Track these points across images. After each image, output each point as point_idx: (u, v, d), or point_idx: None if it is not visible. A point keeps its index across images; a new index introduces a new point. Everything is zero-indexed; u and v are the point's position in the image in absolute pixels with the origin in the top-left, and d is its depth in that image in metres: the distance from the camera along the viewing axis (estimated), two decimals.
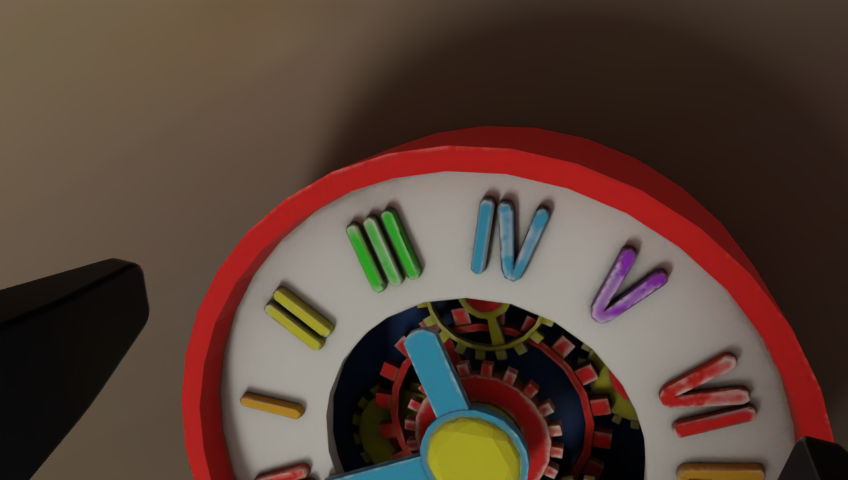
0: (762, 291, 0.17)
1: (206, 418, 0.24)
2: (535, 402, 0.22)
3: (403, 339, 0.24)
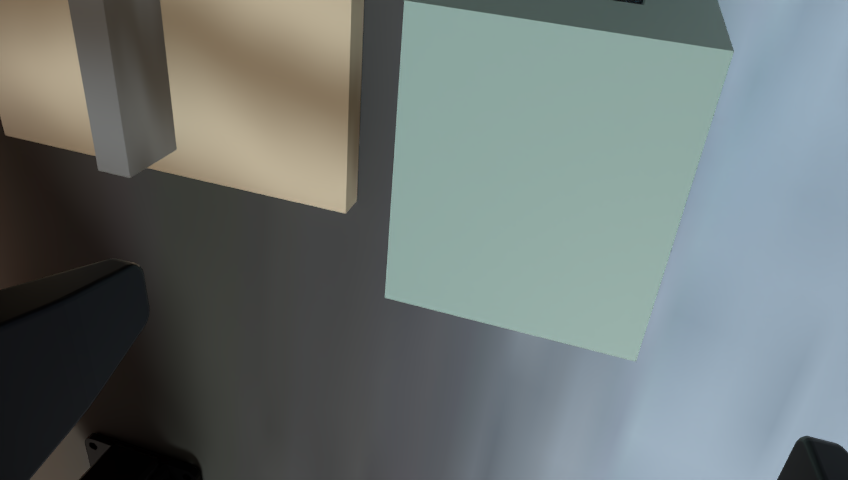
0: None
1: None
2: None
3: None
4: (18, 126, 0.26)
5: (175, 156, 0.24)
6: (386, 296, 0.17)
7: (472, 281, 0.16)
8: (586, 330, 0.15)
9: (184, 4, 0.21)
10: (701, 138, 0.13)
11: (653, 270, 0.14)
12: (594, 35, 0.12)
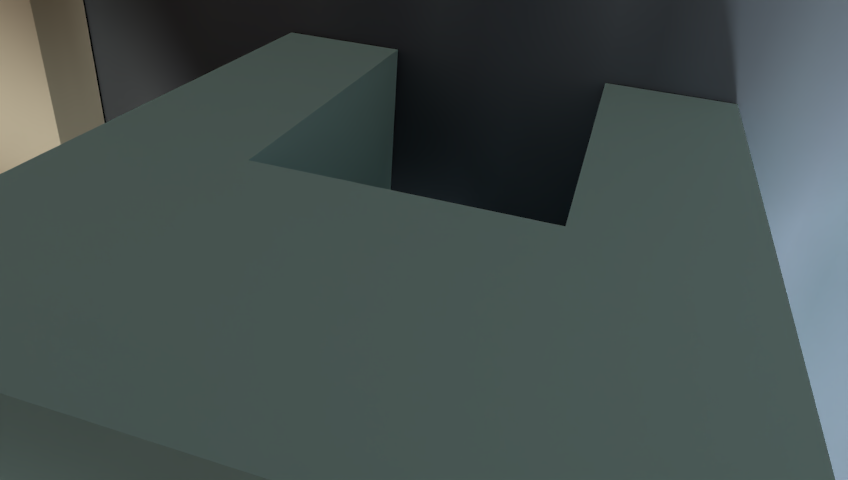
0: None
1: None
2: None
3: None
4: None
5: None
6: None
7: None
8: None
9: None
10: None
11: None
12: None
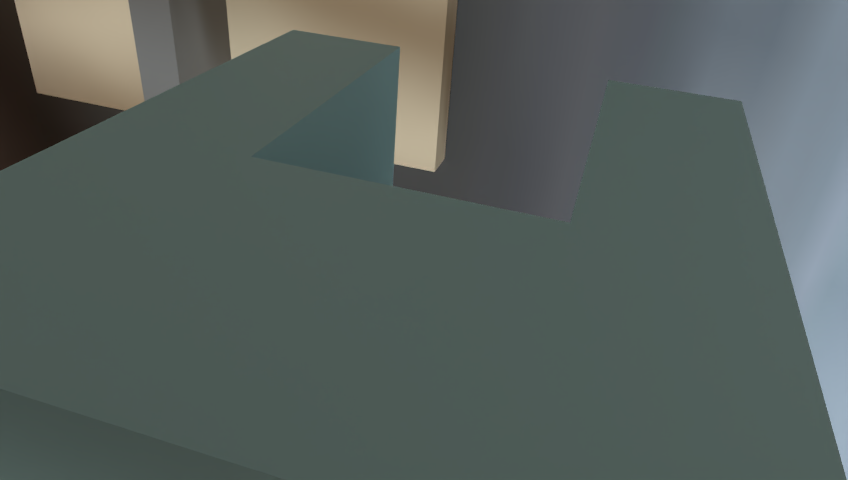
0: None
1: None
2: None
3: None
4: (52, 81, 0.23)
5: None
6: None
7: None
8: None
9: None
10: None
11: None
12: None
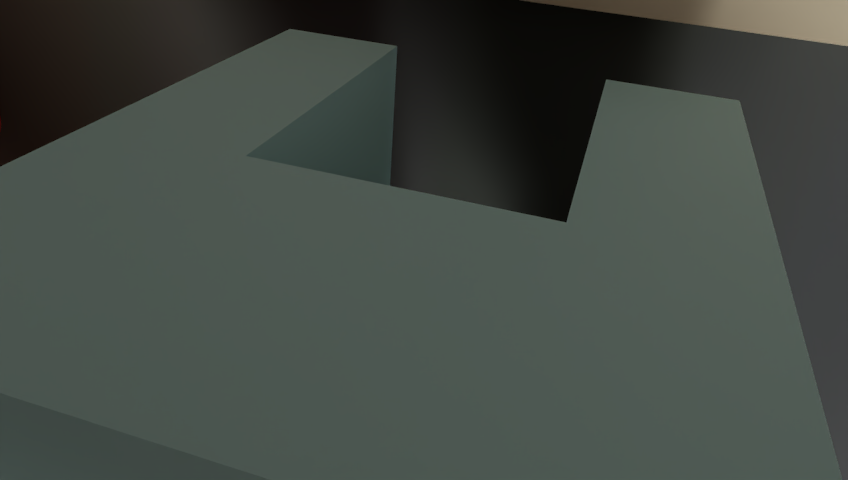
0: None
1: None
2: None
3: None
4: None
5: None
6: None
7: None
8: None
9: None
10: None
11: None
12: None
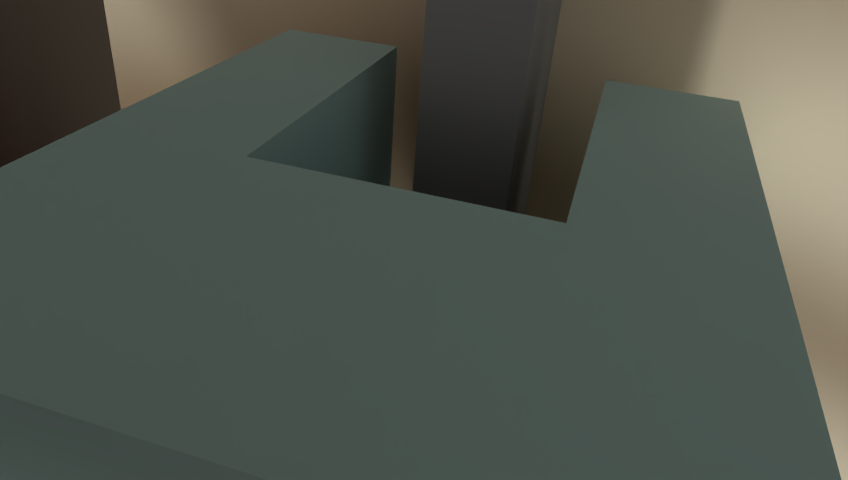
0: None
1: None
2: None
3: None
4: None
5: None
6: None
7: None
8: None
9: None
10: None
11: None
12: None
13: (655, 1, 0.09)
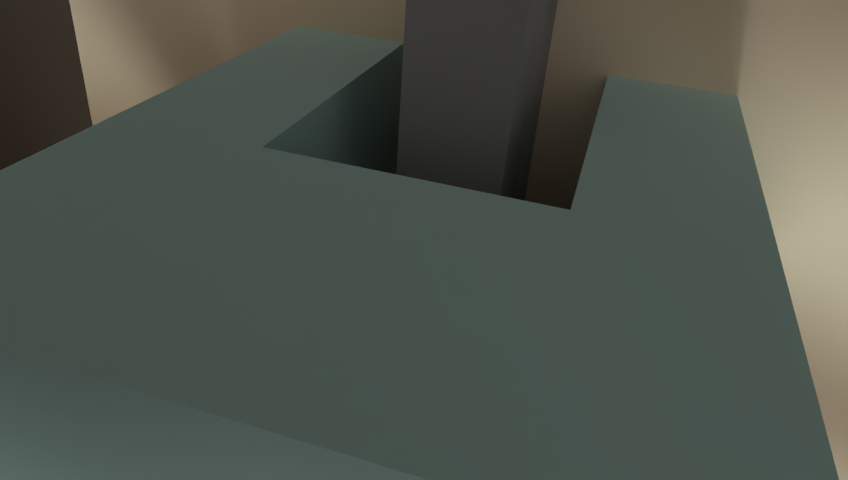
0: None
1: None
2: None
3: None
4: None
5: None
6: None
7: None
8: None
9: None
10: None
11: None
12: (335, 467, 0.03)
13: (645, 63, 0.09)
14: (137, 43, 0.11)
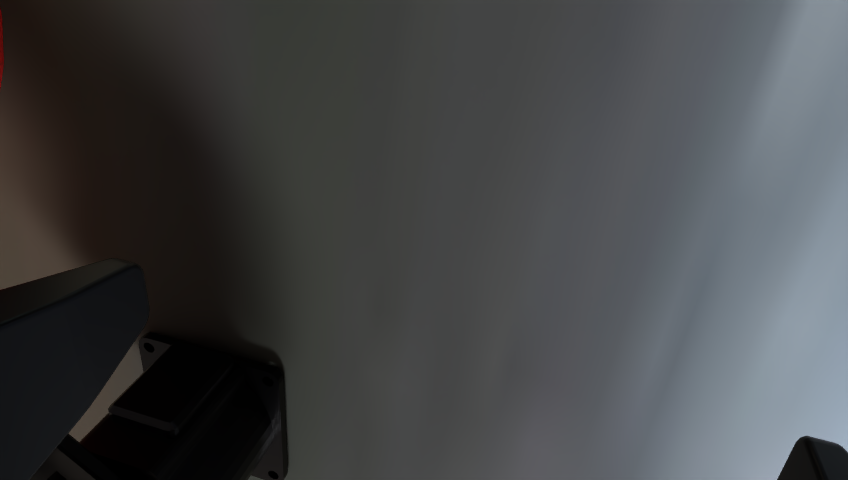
0: None
1: None
2: None
3: None
4: None
5: None
6: None
7: None
8: None
9: None
10: None
11: None
12: None
13: None
14: None
